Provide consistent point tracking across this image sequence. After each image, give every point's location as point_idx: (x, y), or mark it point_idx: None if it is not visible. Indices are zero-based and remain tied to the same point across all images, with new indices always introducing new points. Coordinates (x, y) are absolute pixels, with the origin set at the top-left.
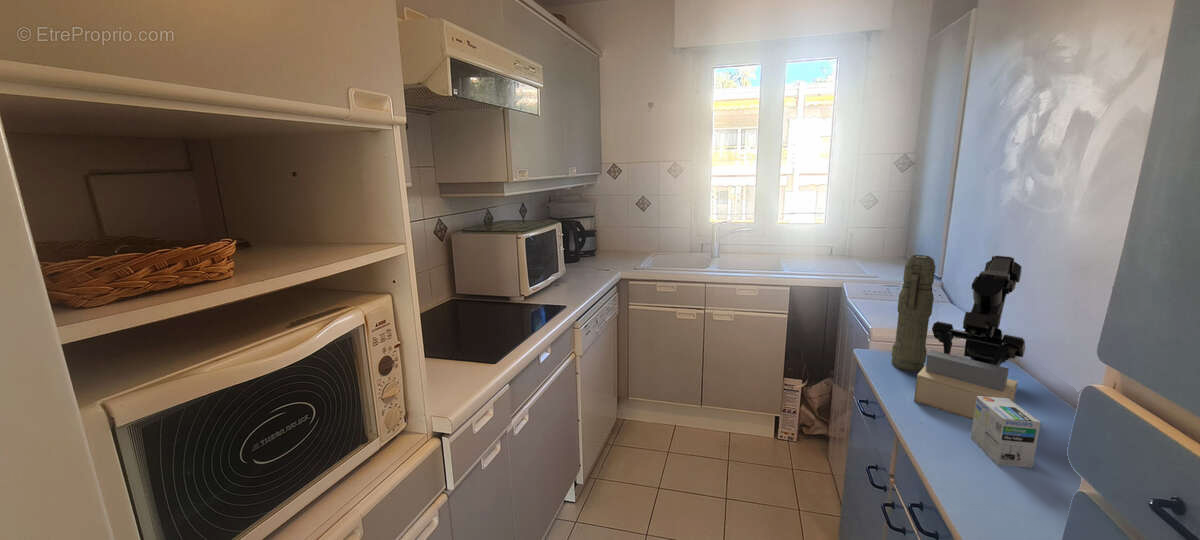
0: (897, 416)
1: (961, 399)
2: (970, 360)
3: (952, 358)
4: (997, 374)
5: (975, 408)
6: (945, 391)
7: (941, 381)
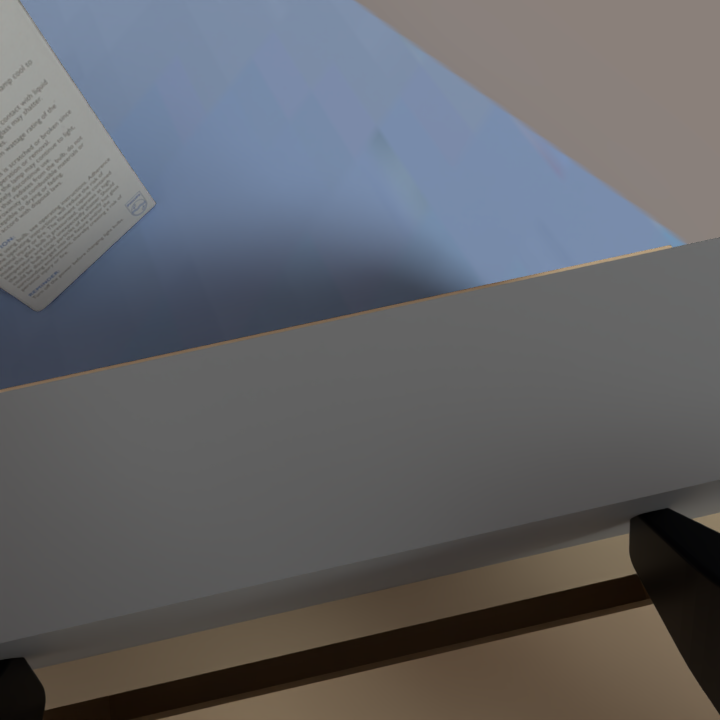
0: (485, 101)
1: None
2: (242, 529)
3: (507, 371)
4: None
5: (51, 48)
6: None
7: (451, 294)
